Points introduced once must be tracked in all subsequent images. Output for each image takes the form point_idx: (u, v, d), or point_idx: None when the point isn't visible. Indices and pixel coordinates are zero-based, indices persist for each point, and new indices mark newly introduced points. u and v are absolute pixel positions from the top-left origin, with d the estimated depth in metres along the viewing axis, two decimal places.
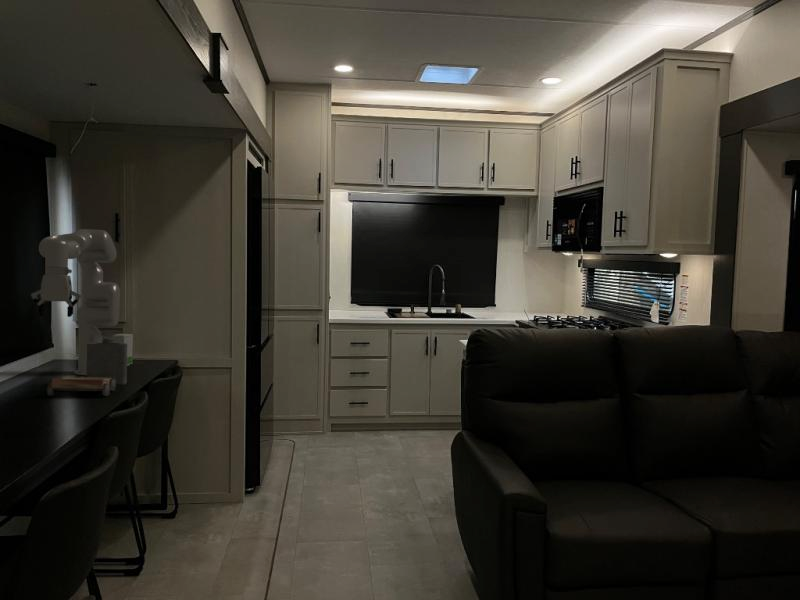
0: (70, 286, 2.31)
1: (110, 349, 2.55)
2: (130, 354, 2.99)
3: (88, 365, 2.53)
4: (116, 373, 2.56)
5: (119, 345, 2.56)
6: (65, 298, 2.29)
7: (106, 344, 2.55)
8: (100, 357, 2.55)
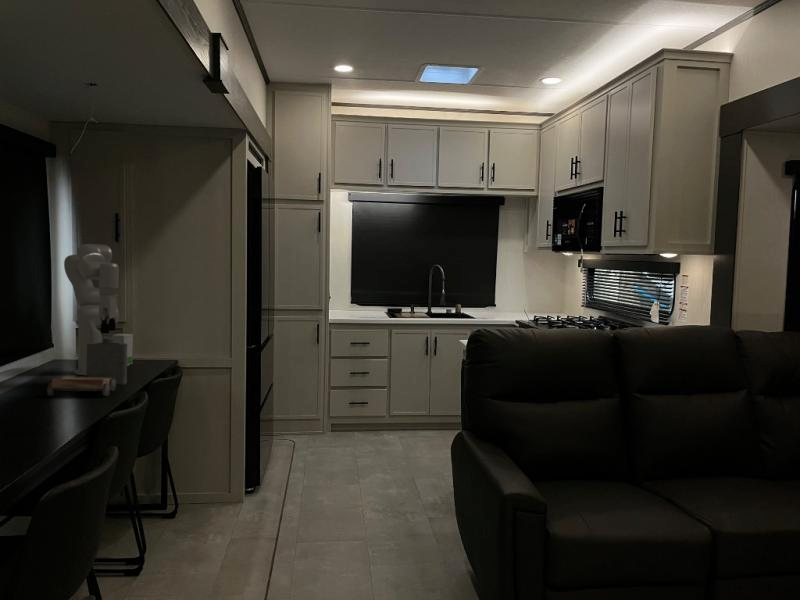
0: None
1: (110, 349, 2.55)
2: (130, 354, 2.99)
3: (88, 365, 2.53)
4: (116, 373, 2.56)
5: (119, 345, 2.56)
6: (116, 314, 2.59)
7: (106, 344, 2.55)
8: (100, 357, 2.55)
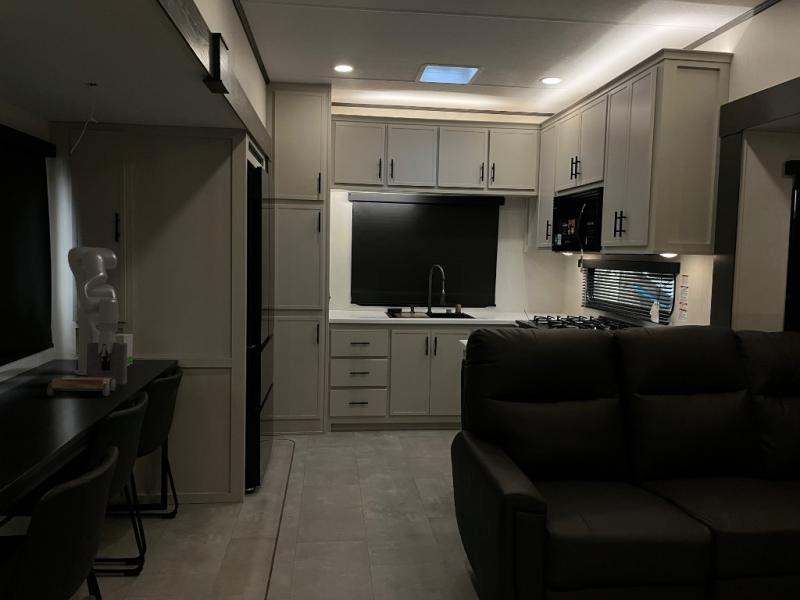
0: None
1: None
2: (130, 354, 2.99)
3: (88, 365, 2.54)
4: (116, 373, 2.56)
5: (119, 345, 2.56)
6: None
7: None
8: (100, 357, 2.55)
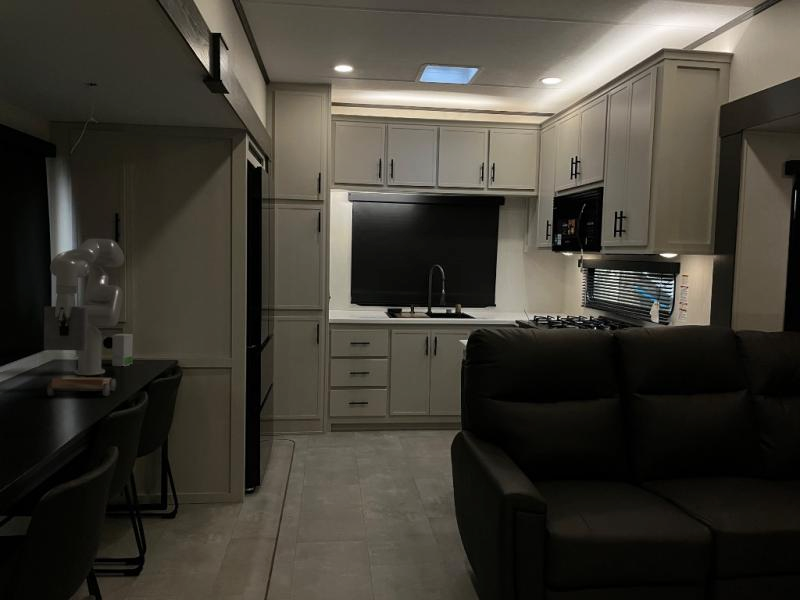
0: None
1: None
2: (130, 354, 2.99)
3: (45, 330, 2.41)
4: (75, 338, 2.43)
5: (78, 309, 2.43)
6: None
7: None
8: (58, 322, 2.42)
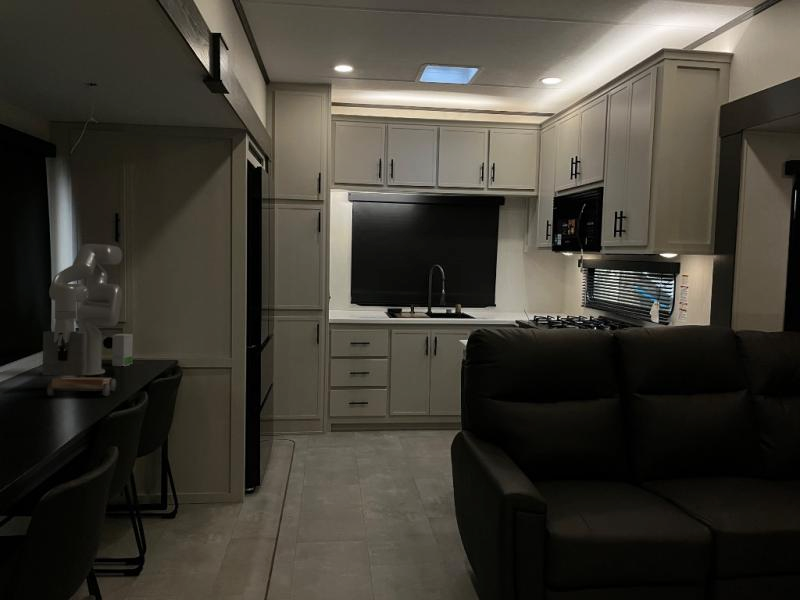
0: None
1: None
2: (130, 354, 2.99)
3: (44, 355, 2.41)
4: (74, 363, 2.44)
5: (77, 334, 2.43)
6: None
7: None
8: (57, 347, 2.42)
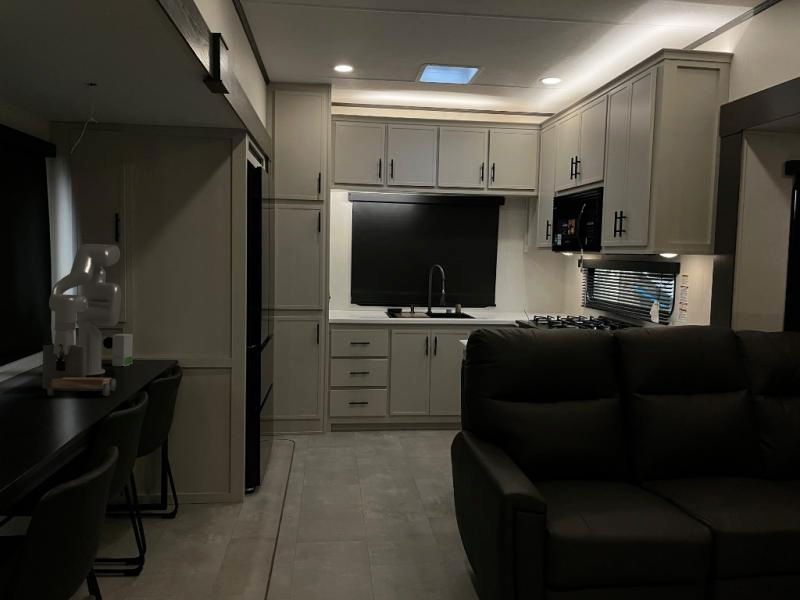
0: None
1: None
2: (130, 354, 2.99)
3: (44, 369, 2.42)
4: None
5: (77, 348, 2.44)
6: None
7: None
8: None
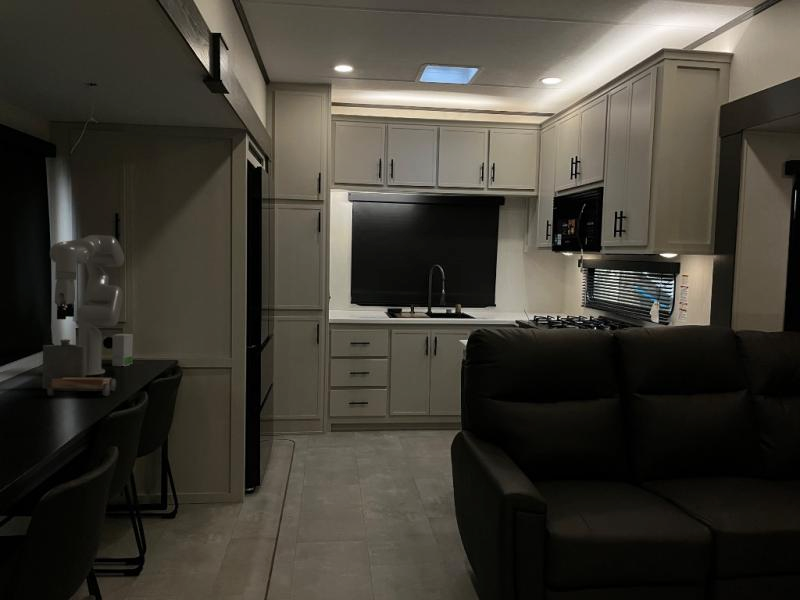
0: None
1: (67, 352, 2.43)
2: (130, 354, 2.99)
3: (44, 369, 2.42)
4: None
5: (77, 348, 2.44)
6: (74, 300, 2.47)
7: (63, 347, 2.43)
8: (56, 361, 2.43)
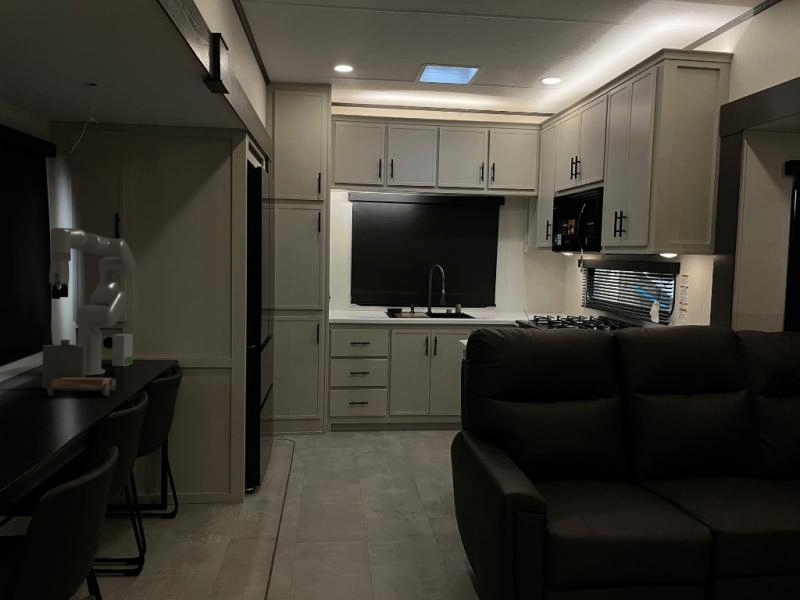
0: None
1: (67, 352, 2.43)
2: (130, 354, 2.99)
3: (44, 369, 2.42)
4: None
5: (77, 348, 2.44)
6: (68, 280, 2.55)
7: (63, 347, 2.43)
8: (56, 361, 2.43)
